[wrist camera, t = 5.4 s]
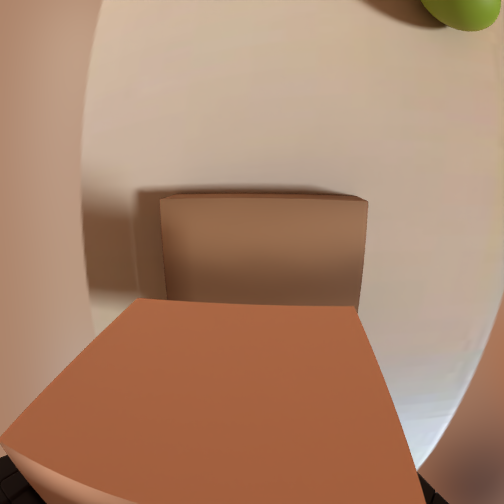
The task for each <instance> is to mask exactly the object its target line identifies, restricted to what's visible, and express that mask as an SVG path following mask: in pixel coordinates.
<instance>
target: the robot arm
mask: <svg viewBox="0 0 504 504" xmlns="http://www.w3.org/2000/svg"><path fill="white" fill-rule="evenodd" d="M417 474H418V478H419V481H420V484H421V488H422V491H423V495H424V498H425V502H426V504H449V503H448V502H447V501H446V500H444V499H443V498H442V497H441V495H439V494H438V493H437V492H436V493H435V490H434V489H433V488H432V487H431V486H430V485H429V484H428V483H427V482H426V480H424V478H423V477H422V476H421V475H420V474H419V473H418V472H417ZM0 504H47V503H46V502H45V501H44V500H43V499H42V498H41V497H40V495H39V494H38V493H37V492H36V491H35V490H34V488H33V487H32V486H31V485H30V484H29V482H28V481H27V480H26V479H25V477H24V476H23V475H22V474H21V472H20V471H19V470H18V468H17V467H16V466H15V464H14V463H13V462H12V460H11V459H10V457H9V456H8V455H6V456H3V457H1V458H0Z"/></svg>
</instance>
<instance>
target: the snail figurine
mask: <svg viewBox="0 0 504 504" xmlns="http://www.w3.org/2000/svg"><path fill="white" fill-rule="evenodd" d="M420 1H421V2H422V4H423V5H424V7H425V8H426V9H427V10H428V11H429V12H430V13H431V14H432V15H433V16H434V17H435V18H436V19H438V20H439V21H440V22H442V23H444V24H445V25H447V26H449V27H452V28H454V29H458V30H462V31H479V30H483V29H485V28H487V27H489V26H490V25H492V24H493V23H494V22H495V20H496V19H497V17H498V15H499V12H500V8H501V0H420Z"/></svg>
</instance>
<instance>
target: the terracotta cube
mask: <svg viewBox="0 0 504 504" xmlns="http://www.w3.org/2000/svg"><path fill="white" fill-rule="evenodd" d="M0 444H1V446H2V447H3V449H4V450H5V452H6V453H7V455H8V456H9V457H10V459H11V460H12V462H13V463H14V464H15V466H16V467H17V468H18V470H19V471H20V472H21V474H22V475H23V476H24V477H25V479H26V480H27V481H28V482H29V484H30V485H31V486H32V487H33V488H34V490H35V491H36V492H37V493H38V494H39V495H40V497H41V498H42V499H43V500H44V501H45V502H46V503H47V504H426V502H425V498H424V495H423V491H422V488H421V484H420V481H419V478H418V474H417V471H416V468H415V465H414V462H413V459H412V456H411V453H410V449H409V446H408V443H407V441H406V438H405V435H404V432H403V429H402V426H401V423H400V420H399V418H398V415H397V412H396V409H395V407H394V404H393V401H392V398H391V396H390V393H389V390H388V388H387V385H386V383H385V380H384V377H383V375H382V372H381V370H380V367H379V365H378V362H377V360H376V357H375V355H374V352H373V350H372V347H371V345H370V343H369V340H368V338H367V335H366V333H365V331H364V328H363V326H362V324H361V321H360V319H359V317H358V314H357V312H356V310H355V308H354V306H286V305H251V304H227V303H206V302H189V301H173V300H158V299H145V298H137V299H136V300H135V301H134V302H133V303H132V304H131V305H130V306H129V307H128V308H127V309H125V310H124V311H123V312H122V313H121V314H120V315H119V316H118V317H117V318H116V319H115V320H114V321H113V322H112V323H111V324H110V325H109V326H108V327H107V328H106V329H105V330H103V331H102V332H101V333H100V334H99V335H98V336H97V337H96V338H95V339H94V340H93V341H92V342H91V343H90V344H89V345H88V346H87V347H86V348H85V349H84V350H83V351H82V352H81V353H80V354H79V355H78V356H77V357H76V358H75V359H74V360H73V361H72V362H71V363H70V364H69V365H68V366H67V367H66V368H65V369H64V370H63V371H62V372H61V373H60V374H59V375H58V376H57V377H56V378H55V379H54V380H53V381H52V382H51V383H50V384H49V385H48V386H47V387H46V388H45V389H44V390H43V392H42V393H41V394H40V395H39V396H38V397H37V398H36V399H35V400H34V401H33V402H32V403H31V404H30V405H29V406H28V407H27V408H26V409H25V410H24V412H23V413H22V414H21V415H20V416H19V417H18V418H17V419H16V420H15V421H14V422H13V423H12V425H11V426H10V427H9V428H8V429H7V430H6V431H5V432H4V433H3V434H2V435H1V437H0Z"/></svg>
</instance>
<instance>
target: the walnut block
mask: <svg viewBox="0 0 504 504" xmlns="http://www.w3.org/2000/svg"><path fill="white" fill-rule="evenodd" d="M367 213H368V201H366V200H364V199H362V198H359V197H357V196H344V195H320V194H281V193H199V194H175V195H172V196H168V197H165V198H162V199H160V217H161V233H162V247H163V259H164V270H165V281H166V291H167V300H173V301H189V302H206V303H227V304H251V305H286V306H354V308H355V310H356V312H357V313H358V306H359V298H360V291H361V282H362V273H363V264H364V253H365V242H366V229H367Z"/></svg>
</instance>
